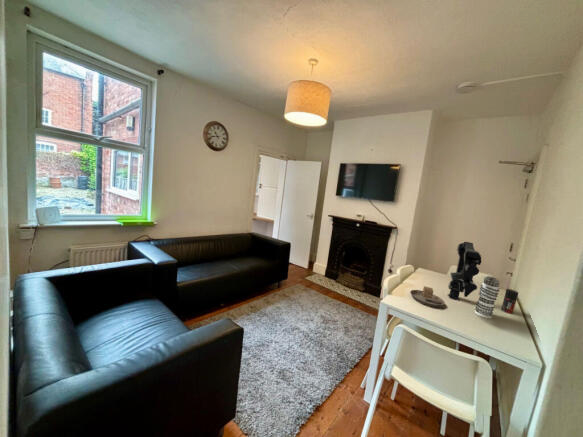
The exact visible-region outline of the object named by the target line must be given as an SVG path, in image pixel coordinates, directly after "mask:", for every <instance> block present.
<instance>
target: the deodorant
mask: <svg viewBox="0 0 583 437" xmlns="http://www.w3.org/2000/svg"><path fill="white" fill-rule="evenodd" d="M518 296H519V292H518V291H517V290H513V289H510V288H506V290H505V294H504V298H503V300H502V301H503V302H502V305H501V308H500V310H501V311H502V312H504V313H507V314H509V315H512V314H514V311H515V307H516V303H517V299H518Z"/></svg>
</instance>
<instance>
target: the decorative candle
mask: <svg viewBox="0 0 583 437" xmlns="http://www.w3.org/2000/svg"><path fill="white" fill-rule="evenodd" d="M500 284H501V282H500V280H499V279H498V278H497V277H494V276H490V275H489V276H487V275H486V276H485V277H483V282H482V284H481V285H480V288H479V293H478V296H479V298H478V300H477V301H476V306H475V309H474V312H475V314H477V315H478V316H480V317H483V318H487V319H492V316H493V313H494V309H495V301H497V298H498V295H499V292H500Z"/></svg>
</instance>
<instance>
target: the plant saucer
mask: <svg viewBox="0 0 583 437" xmlns="http://www.w3.org/2000/svg"><path fill="white" fill-rule="evenodd" d="M409 293H410V295H411V297H412V298H413V299H414V300H415V301H416V302H418V303H419V304H422V305H425V306H428V307H432V308H438V307H439V308H440V307H442V306H443V305H444V304H445V301H444V300H443V299H442V298H441V297H439V296H437V295H435V294H433V295H432V299H429V298H425V297H423V295H422V293H423V290H420V289H412V290H410V292H409Z"/></svg>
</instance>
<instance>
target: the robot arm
mask: <svg viewBox="0 0 583 437" xmlns="http://www.w3.org/2000/svg"><path fill="white" fill-rule="evenodd" d="M456 251H457V255H458V260H457V266H456V271H455V272H450V276H451V277H450V278H451V280H450V281H449V283H448V286H447V287H448V289H449V293H447V296H448V297H449V299H453V300H456V301H460V298H459V297H460V294H461V293H463V297H464V298H467V297H469V295H471V293H472V292H474V291H476V290H478V286H477V284H476V283H475V282H474V280H473V278H474V277H475V276H477V275H478V274H479V273H480V270H479V267H477V266H481V264H482V256H481V254H480V252H479V251H477V250H475V247H474V243H473V242H470V241H464V242H461V243H459V244H458V246H457V249H456Z"/></svg>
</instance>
